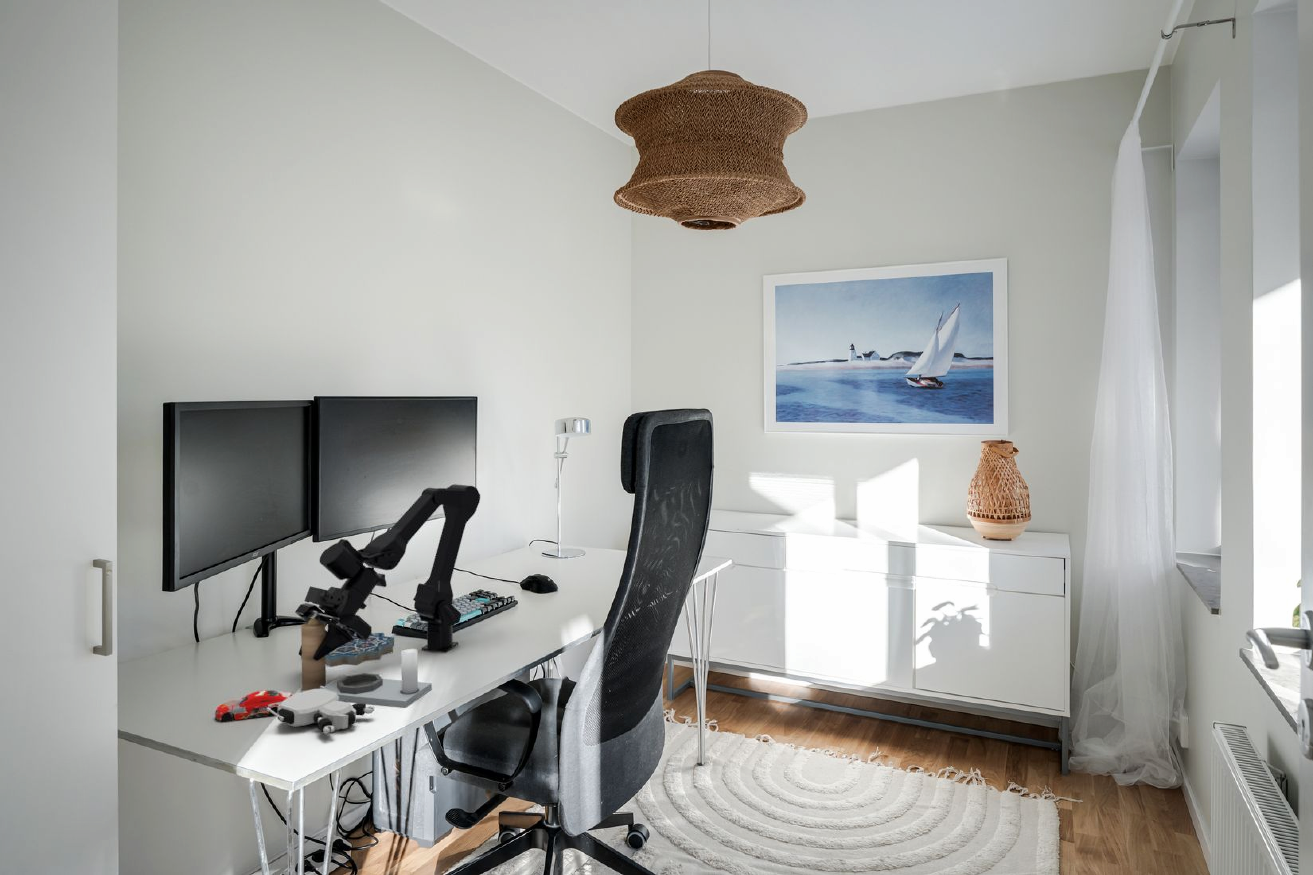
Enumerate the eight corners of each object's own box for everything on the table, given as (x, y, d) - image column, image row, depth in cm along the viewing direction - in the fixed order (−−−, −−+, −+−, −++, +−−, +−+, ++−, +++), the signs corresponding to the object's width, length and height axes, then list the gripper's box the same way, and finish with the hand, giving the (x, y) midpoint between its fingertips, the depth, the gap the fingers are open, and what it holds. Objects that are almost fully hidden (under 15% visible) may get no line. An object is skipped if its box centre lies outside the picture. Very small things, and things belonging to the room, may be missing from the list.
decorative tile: (369, 635, 196) (369, 626, 196) (409, 653, 182) (409, 643, 182) (287, 653, 181) (287, 643, 181) (324, 674, 168) (324, 663, 167)
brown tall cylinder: (311, 683, 161) (310, 615, 161) (330, 684, 160) (329, 616, 160) (297, 690, 157) (296, 620, 156) (316, 692, 156) (315, 622, 155)
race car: (212, 725, 141) (211, 703, 140) (218, 714, 146) (217, 693, 146) (292, 715, 145) (292, 694, 145) (295, 705, 150) (295, 684, 150)
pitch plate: (344, 680, 163) (343, 637, 162) (431, 688, 158) (431, 644, 158) (313, 698, 153) (312, 651, 153) (405, 707, 149) (405, 659, 148)
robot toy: (378, 723, 144) (317, 704, 150) (379, 699, 143) (318, 681, 149) (326, 749, 132) (262, 728, 138) (327, 723, 132) (264, 703, 138)
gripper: (303, 565, 166) (253, 629, 157) (358, 576, 156) (309, 644, 147) (336, 594, 173) (290, 657, 164) (391, 606, 163) (345, 674, 154)
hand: (307, 657), depth 157 cm, fingers closed on brown tall cylinder, 4 cm apart
